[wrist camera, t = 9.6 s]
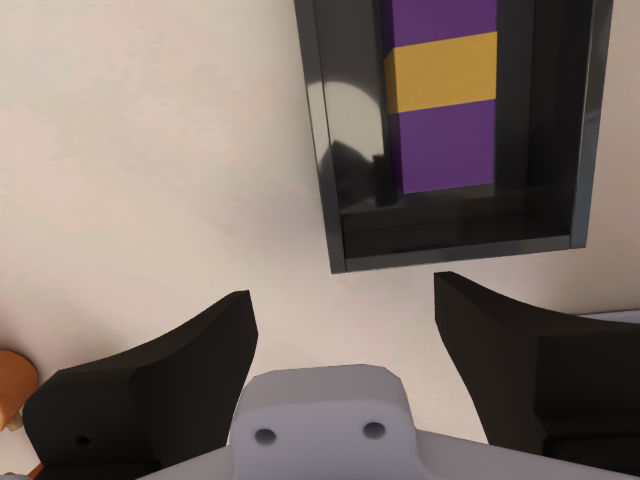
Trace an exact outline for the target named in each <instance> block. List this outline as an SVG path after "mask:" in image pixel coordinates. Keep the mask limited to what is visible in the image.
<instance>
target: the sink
mask: <svg viewBox="0 0 640 480" xmlns="http://www.w3.org/2000/svg"><path fill="white" fill-rule="evenodd" d="M613 1H614V0H497V20H496V31H497V64H496V98H495V116H494V164H493V182H492V183H487V184H479V185H471V186H462V187H454V188H446V189H438V190H430V191H422V192H414V193H403V192H402V191H401V190H400V189H399V188H398V186H397V185H396V184H395V183H394V182H393V177H392V162H391V148H390V134H389V119H388V113H387V100H386V85H385V71H384V48H383V34H382V19H381V5H380V0H294V6H295V13H296V20H297V27H298V35H299V42H300V49H301V57H302V64H303V71H304V79H305V86H306V93H307V101H308V108H309V115H310V122H311V130H312V137H313V144H314V152H315V159H316V166H317V174H318V181H319V188H320V196H321V203H322V210H323V217H324V225H325V232H326V239H327V247H328V254H329V261H330V269H331V274H340V273H346V272H347V273H350V272H359V271H369V270H378V269H388V268H397V267H407V266H416V265H426V264H435V263H445V262H454V261H464V260H473V259H483V258H493V257H502V256H512V255H521V254H531V253H540V252H550V251H559V250H568V249H577V248H585V247H586V243H587V234H588V225H589V216H590V207H591V198H592V189H593V180H594V171H595V162H596V153H597V144H598V135H599V126H600V117H601V108H602V99H603V91H604V82H605V73H606V64H607V55H608V46H609V37H610V28H611V19H612V10H613Z"/></svg>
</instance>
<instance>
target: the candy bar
mask: <svg viewBox="0 0 640 480" xmlns="http://www.w3.org/2000/svg"><path fill="white" fill-rule="evenodd" d="M380 5H381V19H382V34H383V48H384V71H385V85H386V100H387V113H388V119H389V134H390V148H391V162H392V177H393V182H394V183H395V184H396V185H397V186H398V188H399V189H400V190H401V191H402V192H403V193H414V192H422V191H430V190H438V189H446V188H454V187H462V186H471V185H479V184H487V183H492V182H493V164H494V116H495V98H496V64H497V31H496V20H497V0H380Z"/></svg>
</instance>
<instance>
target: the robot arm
mask: <svg viewBox="0 0 640 480" xmlns="http://www.w3.org/2000/svg"><path fill="white" fill-rule="evenodd" d="M434 296H435V321H436V324H437V327H438V330H439V333H440V336H441V339H442V341H443V343H444V345H445V347H446V349H447V351H448V353H449V355H450V357H451V359H452V361H453V363H454V365H455V367H456V368H457V370H458V372H459V374H460V376H461V378H462V380H463V382H464V384H465V386H466V387H467V390H468V392H469V394H470V396H471V398H472V400H473V403H474V406H475V408H476V411H477V413H478V416H479V418H480V421H481V424H482V426H483V429H484V432H485V434H486V437H487V440H488V443H489V445H488V444H484V443H479V442H474V441H470V440H465V439H460V438H456V437H451V436H447V435H442V434H437V433H433V432H428V431H423V430H419V429H416V428H415V426H414V422H413V418H412V414H411V410H410V406H409V402H408V398H407V394H406V392H405V390H404V387H403V385H402V382H401V380H400V378H399V377H397V376H396V375H394V374H393V373H392V372H390V371H389V370H387V369H386V368H384V367H380V366H373V365H366V364H355V365H342V366H328V367H315V368H301V369H288V370H274V371H270V372H267V373H264V374H261V375H258V376H254V378H253V379H252V380H251V381H250V382H249V383H248V384H247V385H246V387H245V388H244V389H243V391H242V388H243V385H244V383H245V380H246V377H247V375H248V372H249V369H250V366H251V364H252V361H253V358H254V354H255V350H256V345H257V339H258V330H257V325H256V321H255V316H254V311H253V306H252V302H251V297H250V292H249V290H245V291H235V292H232V293H230V294H228V295H227V296H225V297H224V298H222V299H221V300H219V301H218V302H216V303H215V304H213V305H212V306H210V307H209V308H207V309H206V310H204V311H203V312H201V313H200V314H198V315H197V316H195V317H194V318H192V319H190V320H189V321H187V322H186V323H184V324H182V325H181V326H179V327H177V328H175V329H174V330H172V331H170V332H168V333H166V334H164V335H162V336H160V337H158V338H156V339H154V340H151V341H149V342H147V343H144V344H142V345H139V346H137V347H135V348H132V349H130V350H127V351H124V352H121V353H119V354H116V355H113V356H110V357H107V358H103V359H100V360H97V361H93V362H90V363H86V364H82V365H78V366H74V367H70V368H66V369H62V370H59V371H57V372H56V373H55V374H54V375H53V376H52V377H50V378H49V379H48V380H47V381H46V382H45V383H44V384H43V385H42V386H41V387H39V388H38V389H37V390H36V391H35V392H34V393H33V394H32V395H31V396H30V397H29V398H28V399H27V400H26V402H25V404H24V407H23V410H22V422H23V425H24V428H25V431H26V434H27V436H28V438H29V439H30V441H31V443H32V445H33V447H34V449H35V451H36V453H37V455H38V457H39V459H40V461H41V463H42V465H43V466H44V467H43V468H42V469H41V470H40V472H39V473H38V474H37V475H36V476H35V478H34V479H32V478H30V477H28V476H26V475H21V474H13V475H0V480H640V310H634V311H623V312H612V313H600V314H589V315H578V316H574V315H569V314H564V313H560V312H556V311H551V310H547V309H543V308H539V307H536V306H533V305H529V304H526V303H523V302H520V301H517V300H514V299H512V298H509V297H507V296H504V295H502V294H499V293H497V292H494V291H492V290H490V289H488V288H486V287H483V286H481V285H479V284H477V283H475V282H473V281H471V280H469V279H467V278H465V277H463V276H461V275H459V274H456V273H454V272H451V271H448V272H437V273H434ZM241 391H242V394H241ZM240 394H241V397H240V399H239V396H240ZM238 399H239V402H238ZM237 402H238V405H237ZM236 405H237V408H236ZM235 408H236V411H235ZM234 411H235V414H234ZM233 414H234V417H233ZM232 418H233V420H232ZM231 422H232V423H231ZM230 426H231V427H230ZM229 430H230V441H229V443H230V445H227V446H226V443H227V438H228V434H229Z"/></svg>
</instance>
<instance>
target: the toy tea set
mask: <svg viewBox="0 0 640 480" xmlns="http://www.w3.org/2000/svg"><path fill="white" fill-rule="evenodd" d="M37 384H38V377H37V373H36V371H35V369H34V367H33V366H32V365H31V363H30V362H29V361H27V360H26V359H25V358H24V357H22V356H20V355H18V354H16V353H14V352H11V351H6V350H0V432H1V431H2V430H3V429H4V428H5V426H6V427H7V428H8V429H9V430H10V431H15V430H17V429H19V428H20V427H22V426H23V422H22V416H21V414H20V413H19V409H20V408H21V407H22V406H23V405H24V403H25V402H26V400H27V399H28V398H29V397H30V396H31V395H32V394H33V393H34V391H35V390H36V388H37ZM43 467H44V466H43V465H42V463H40V464H39V465H38V466H37V467H36V468H35V469H34V470H32V471H31V472H30V473H29V474H28V475H27V476H28V477H30V478H32V479H34V478H35V476H36V475H37V474H38V473H39V472H40V470H41V469H42V468H43ZM13 474H14V473H11V472H9V473H5V474H4V475H13Z"/></svg>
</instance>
